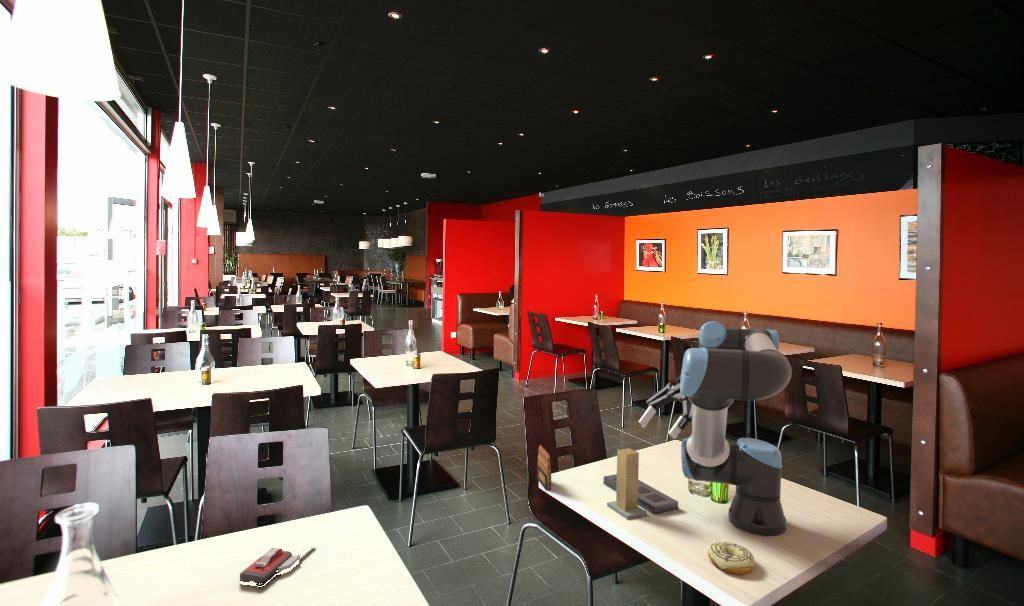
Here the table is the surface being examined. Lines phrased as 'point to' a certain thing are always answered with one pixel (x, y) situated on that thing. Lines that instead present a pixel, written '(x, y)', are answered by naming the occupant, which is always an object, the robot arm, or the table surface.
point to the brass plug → (627, 479)
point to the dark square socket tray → (647, 497)
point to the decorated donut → (731, 557)
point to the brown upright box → (544, 469)
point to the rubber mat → (627, 514)
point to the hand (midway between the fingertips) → (655, 430)
